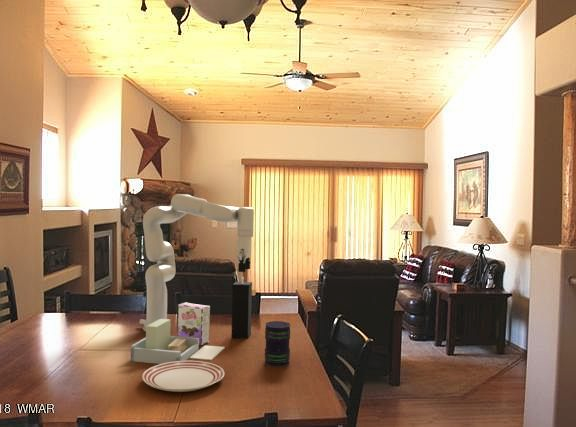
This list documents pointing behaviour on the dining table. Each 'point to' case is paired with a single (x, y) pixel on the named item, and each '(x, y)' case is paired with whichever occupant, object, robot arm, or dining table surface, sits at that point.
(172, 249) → the robot arm
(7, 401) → the dining table surface
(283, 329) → the storage jar
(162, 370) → the dinner plate
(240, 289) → the tissue box
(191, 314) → the candy box
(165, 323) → the pale green block
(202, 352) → the felt mat
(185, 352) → the grey square tray frame
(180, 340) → the offcut upper
